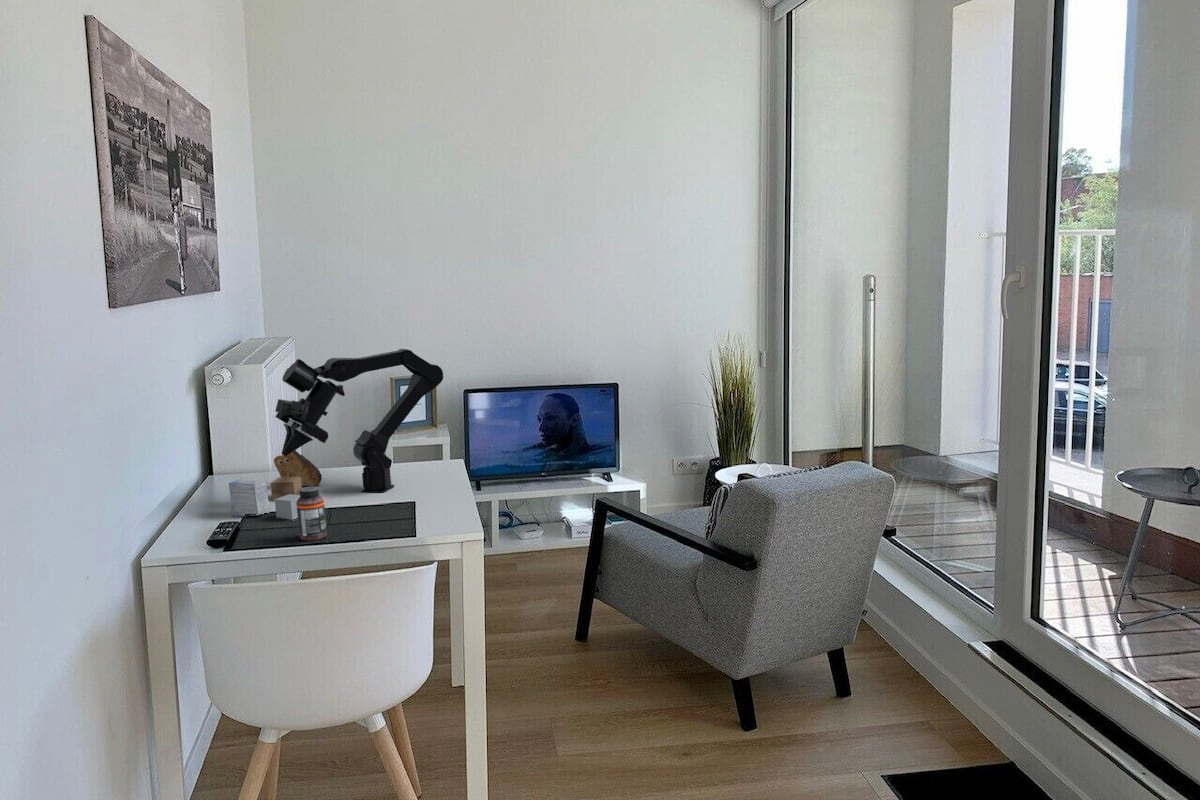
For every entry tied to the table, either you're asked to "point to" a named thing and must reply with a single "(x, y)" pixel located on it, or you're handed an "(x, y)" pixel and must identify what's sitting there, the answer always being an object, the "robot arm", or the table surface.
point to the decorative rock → (298, 468)
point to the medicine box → (249, 496)
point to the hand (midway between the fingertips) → (283, 455)
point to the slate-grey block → (287, 506)
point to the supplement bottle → (311, 514)
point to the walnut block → (285, 486)
